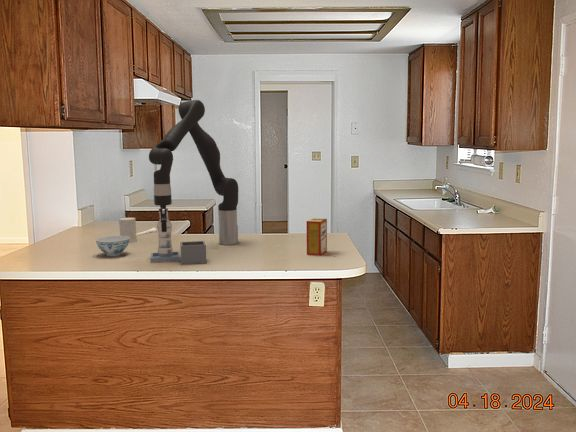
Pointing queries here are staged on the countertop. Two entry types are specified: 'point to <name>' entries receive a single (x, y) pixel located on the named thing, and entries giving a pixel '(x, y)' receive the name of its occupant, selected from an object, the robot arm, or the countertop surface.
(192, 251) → the holder
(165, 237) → the plastic bottle
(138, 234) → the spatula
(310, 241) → the baking soda box
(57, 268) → the countertop surface
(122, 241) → the chinaware
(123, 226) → the cup
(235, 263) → the countertop surface
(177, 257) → the tray
